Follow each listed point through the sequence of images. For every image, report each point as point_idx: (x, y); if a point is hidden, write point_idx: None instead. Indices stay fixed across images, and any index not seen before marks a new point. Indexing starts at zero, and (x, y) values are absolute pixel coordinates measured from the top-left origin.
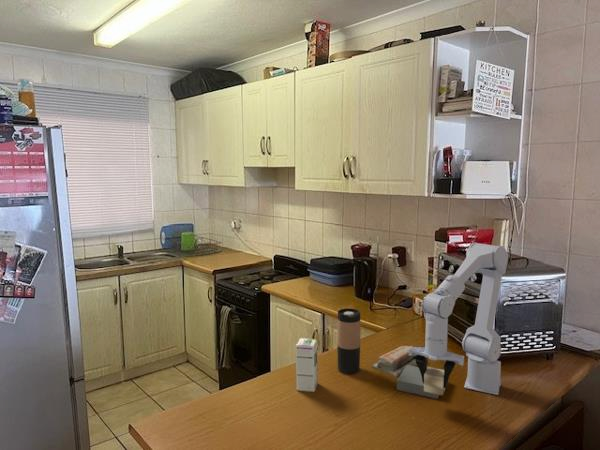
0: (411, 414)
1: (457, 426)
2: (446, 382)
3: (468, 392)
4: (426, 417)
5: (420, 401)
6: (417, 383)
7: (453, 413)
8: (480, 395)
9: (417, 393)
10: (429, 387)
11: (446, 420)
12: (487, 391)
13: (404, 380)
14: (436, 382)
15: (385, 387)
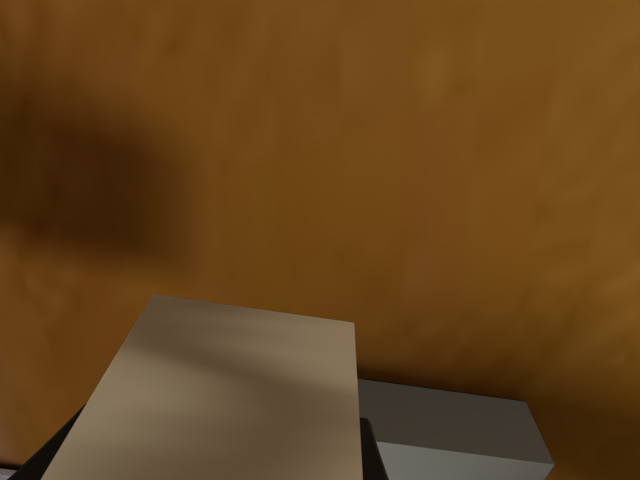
0: (445, 118)
1: (54, 46)
2: (49, 442)
3: None
4: (318, 110)
5: (370, 314)
6: (399, 456)
7: (130, 230)
8: (39, 445)
9: (390, 388)
10: (288, 356)
11: (157, 115)
12: (5, 477)
13: (495, 470)
14: (178, 417)
15: (600, 407)
